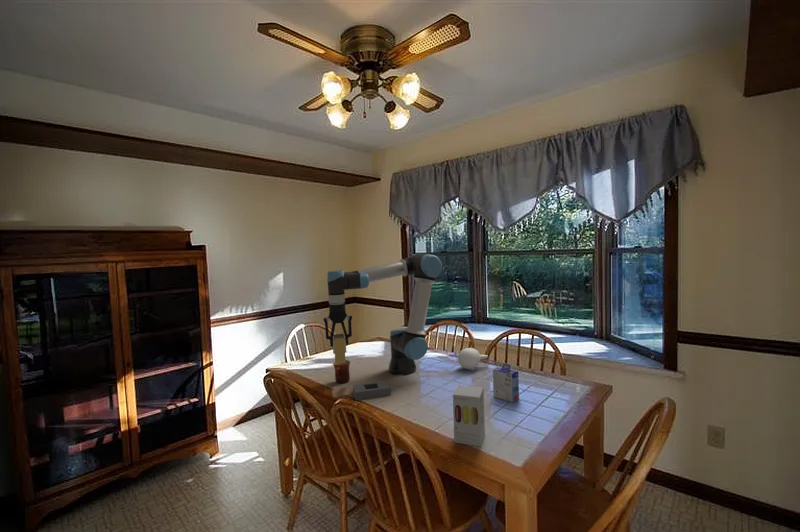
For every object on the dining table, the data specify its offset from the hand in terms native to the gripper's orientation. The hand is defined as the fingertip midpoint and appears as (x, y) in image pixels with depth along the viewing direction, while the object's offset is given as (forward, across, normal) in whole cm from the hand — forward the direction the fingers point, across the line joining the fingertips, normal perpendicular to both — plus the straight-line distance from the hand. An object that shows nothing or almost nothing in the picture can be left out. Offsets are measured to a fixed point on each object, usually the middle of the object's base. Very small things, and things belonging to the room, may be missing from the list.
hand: (339, 352), depth 170 cm
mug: (+20, -1, -13) cm, 24 cm away
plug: (+5, 0, 0) cm, 5 cm away
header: (+20, -13, +7) cm, 25 cm away
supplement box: (+20, -39, +57) cm, 72 cm away
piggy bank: (+20, -72, -9) cm, 75 cm away
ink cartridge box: (+20, -68, +32) cm, 78 cm away
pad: (+20, 0, 0) cm, 20 cm away
